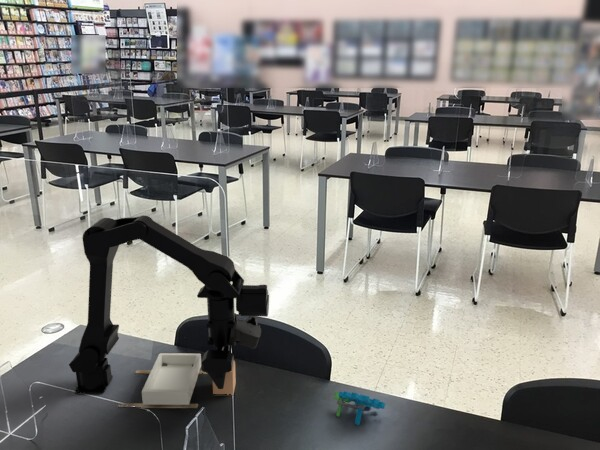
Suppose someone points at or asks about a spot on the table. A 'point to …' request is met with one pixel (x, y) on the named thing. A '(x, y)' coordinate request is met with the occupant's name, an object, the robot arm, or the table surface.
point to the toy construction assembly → (359, 400)
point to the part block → (227, 383)
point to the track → (158, 405)
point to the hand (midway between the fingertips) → (223, 376)
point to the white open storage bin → (172, 379)
